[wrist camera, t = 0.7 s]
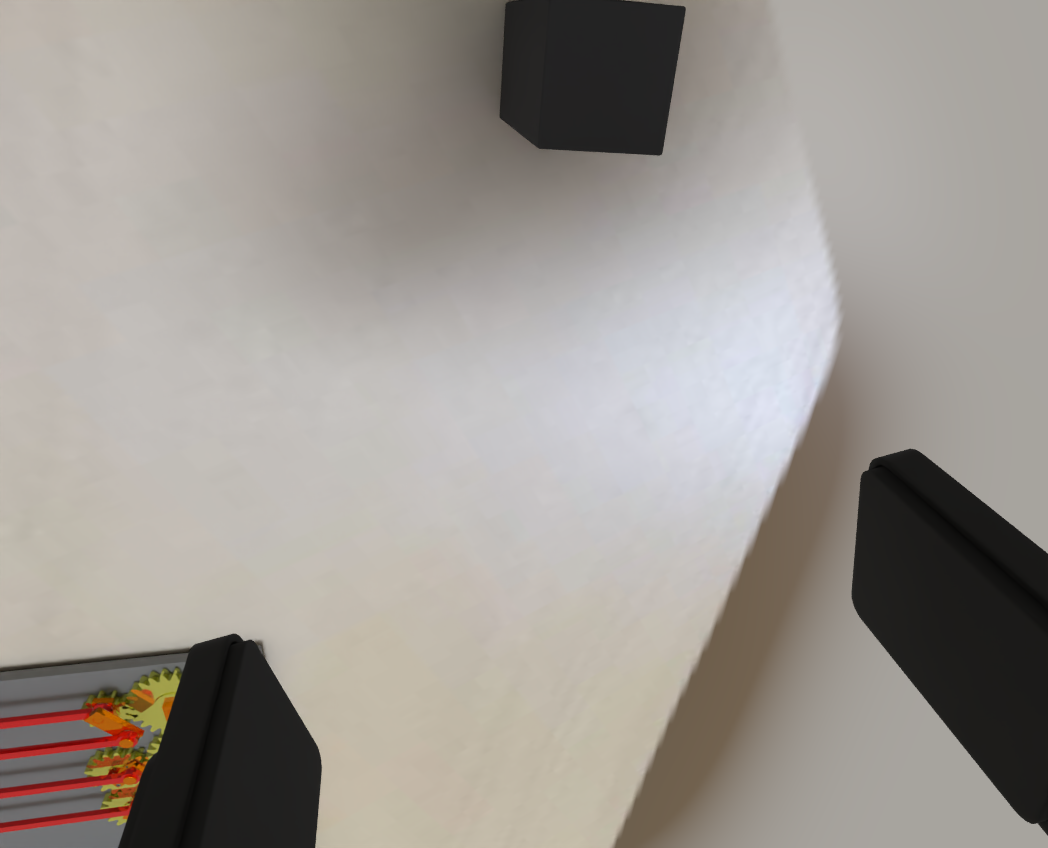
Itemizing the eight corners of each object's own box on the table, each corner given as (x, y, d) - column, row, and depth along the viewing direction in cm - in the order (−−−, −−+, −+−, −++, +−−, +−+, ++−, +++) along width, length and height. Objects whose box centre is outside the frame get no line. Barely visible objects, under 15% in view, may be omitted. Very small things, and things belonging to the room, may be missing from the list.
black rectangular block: (505, 2, 21) (549, -8, 15) (607, 12, 21) (687, 6, 16) (499, 118, 22) (537, 149, 17) (595, 124, 23) (662, 156, 17)
